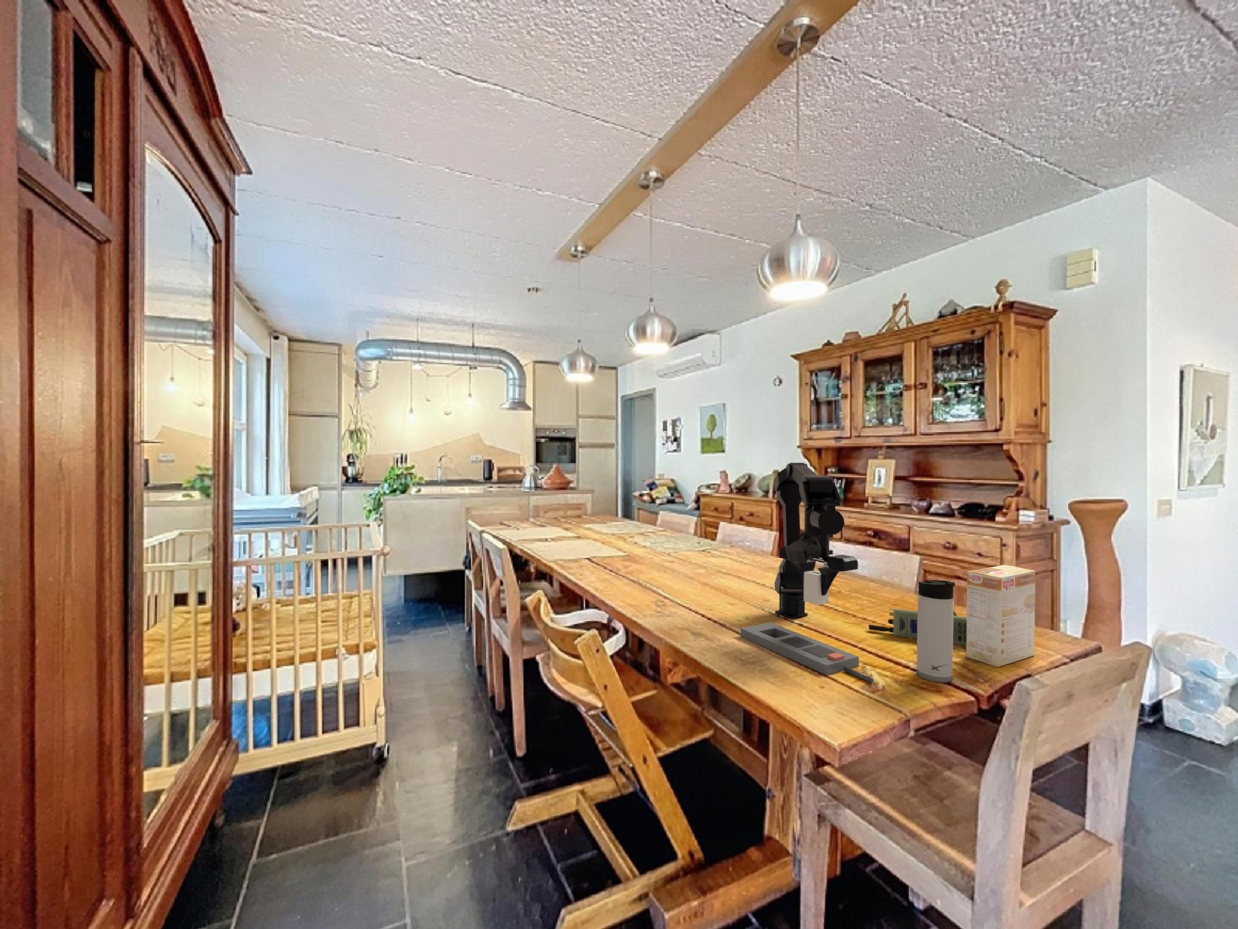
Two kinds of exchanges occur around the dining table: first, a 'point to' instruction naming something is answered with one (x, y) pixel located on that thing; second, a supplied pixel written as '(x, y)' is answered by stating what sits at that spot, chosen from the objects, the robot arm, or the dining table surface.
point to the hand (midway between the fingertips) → (816, 593)
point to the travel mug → (935, 630)
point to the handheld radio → (907, 625)
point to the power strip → (803, 649)
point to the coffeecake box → (1000, 614)
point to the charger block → (814, 588)
